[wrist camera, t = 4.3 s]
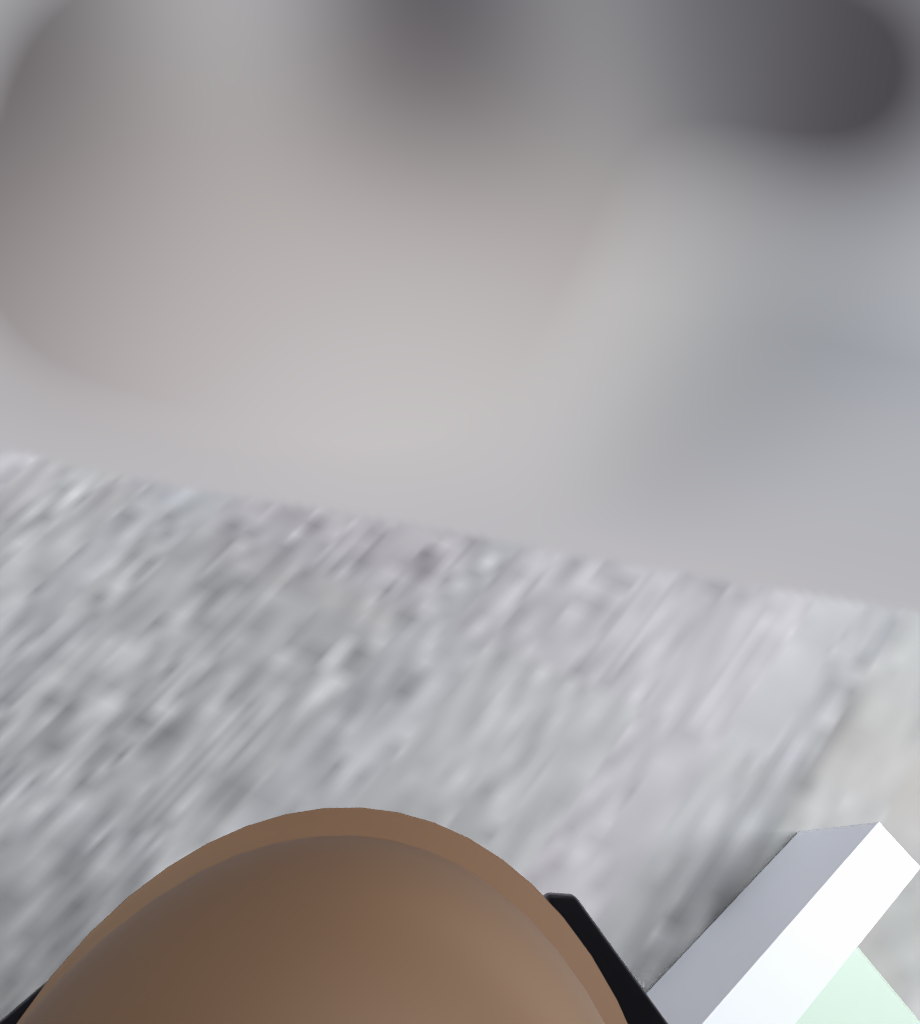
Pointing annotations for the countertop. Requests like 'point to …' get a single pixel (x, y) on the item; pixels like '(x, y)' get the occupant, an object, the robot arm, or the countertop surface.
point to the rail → (787, 930)
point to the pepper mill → (332, 936)
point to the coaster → (857, 998)
